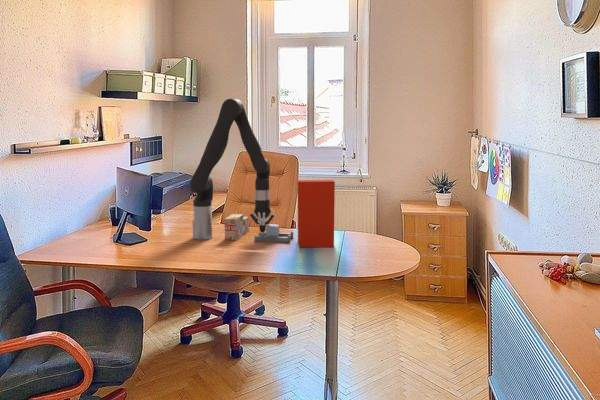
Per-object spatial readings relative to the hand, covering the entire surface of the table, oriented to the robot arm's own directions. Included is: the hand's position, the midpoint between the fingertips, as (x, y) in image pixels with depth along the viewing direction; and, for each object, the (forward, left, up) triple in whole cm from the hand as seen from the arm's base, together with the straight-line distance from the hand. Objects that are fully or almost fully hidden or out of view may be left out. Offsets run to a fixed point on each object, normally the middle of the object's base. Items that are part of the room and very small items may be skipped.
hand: (262, 232), depth 247 cm
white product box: (-15, +6, -5) cm, 17 cm away
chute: (+6, 0, -5) cm, 8 cm away
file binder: (+28, -4, -5) cm, 28 cm away
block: (+5, 0, -4) cm, 6 cm away
